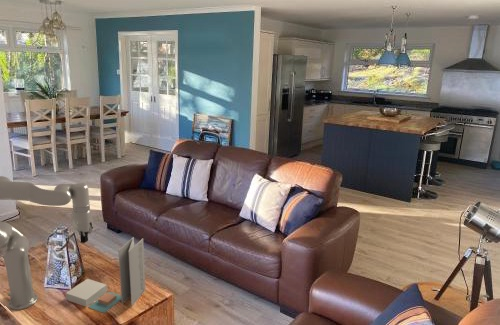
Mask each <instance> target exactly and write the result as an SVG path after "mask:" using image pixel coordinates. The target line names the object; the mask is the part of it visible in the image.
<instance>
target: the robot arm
mask: <svg viewBox="0 0 500 325" xmlns="http://www.w3.org/2000/svg"><path fill="white" fill-rule="evenodd" d="M0 201H24V202H30V203H33V204H37V205H43V206H49V207H51V206H53V207H54V206H56V207H57V206H58V207H60V206H61V207H62V206H65V205H68V204H69V203H70V202H71V201H72V211H71V227H72V228H71V229H73V230H75V231H77V232H78V235H79V238H80V243H81V244H85V243H87V242H89V236H88V235H89V234H92V233H93V229H94V219H93V215H92V211H91V208H90V196H89V186H88V184H87V183H83V182H82V183H81V182H79V183H74V184H73V183H60V184H57V185H56V186H55V187H54V189H44V188H40V187H38V186H37V185H35V184H34V183H31V182H28V181H12V180H10V178H9V177H6V176H3V175H1V176H0ZM3 248H5V249H4V251H3V252H4V253H3V261H4V264H5V270H6V274H7V281H8V286H9V292H8V293H7V296H8V297H10V300H8V301H7V302H8V303H7V306H8V308H9V309H10V310H13V311H14V310H15V311H17V310H18V311H20V310H24V309H27V308H29V307H31V306H33V305H35V303H37V302H38V300H39V296H38V294H37V293H35V292H34V286H33V278H32V271H31V264H30V260H29V251H30V250H29V248H30V241H29V239H28V238H27V236H25V235H24V234H23V233H22V232H20V231H19V230H18V229H16V228H15V227H14V226H13V225H11V223H8V222H5V221H0V250H2V249H3Z"/></svg>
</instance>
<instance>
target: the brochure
mask: <svg viewBox="0 0 500 325" xmlns="http://www.w3.org/2000/svg"><path fill="white" fill-rule="evenodd" d="M134 239H135V237H134V236H133V237H131V239H129V240H128V241H126V243H125V244H123V245H122V247H120V248H119V249H118V250H117V251H118V252H117V253H118V264H119V265H118V268H119V278H120V279H119V282H120V295H121V305H124V304H125V302H127V300H129V298H130V306H131V307H134V305H135V303H136V302H137V301H138V300H139V299H140V298H141V296H142V295H143V294H144V292H145V291H146V270H145V269H146V268H145V250H144V249H145V248H144V238H141V239H140V240H139V241H138V242H137V243H136V244H135V240H134Z"/></svg>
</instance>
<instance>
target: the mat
mask: <svg viewBox="0 0 500 325" xmlns="http://www.w3.org/2000/svg"><path fill="white" fill-rule="evenodd" d="M106 293H110V294H113V295H116V300H115V301H113V302H112V303H111V304H110V305H108V306H107V305H104V304H101V303H98V299H97V300H95V301H94V302H93V303H91V304H90V305H89V306H87V308H89V309H91V310H93V311H97V312H100V313H102V314H106V313H107V312H108V311H109V310H111V308H113V307H114V306H115V305H116V304H118V303H119V302H120V301H122V299H121V294H118V293H115V292H111V291H107V292H106Z"/></svg>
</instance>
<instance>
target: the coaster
mask: <svg viewBox="0 0 500 325" xmlns="http://www.w3.org/2000/svg"><path fill="white" fill-rule="evenodd" d="M97 300H98V303H101V304H104V305H107V306H108V305H110V304H111V303H112V302H113V301H115V300H116V295H113V294H110V293H107V292H106V293H105V294H103V295H102V296H101V297H99V298H98V299H97Z"/></svg>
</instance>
